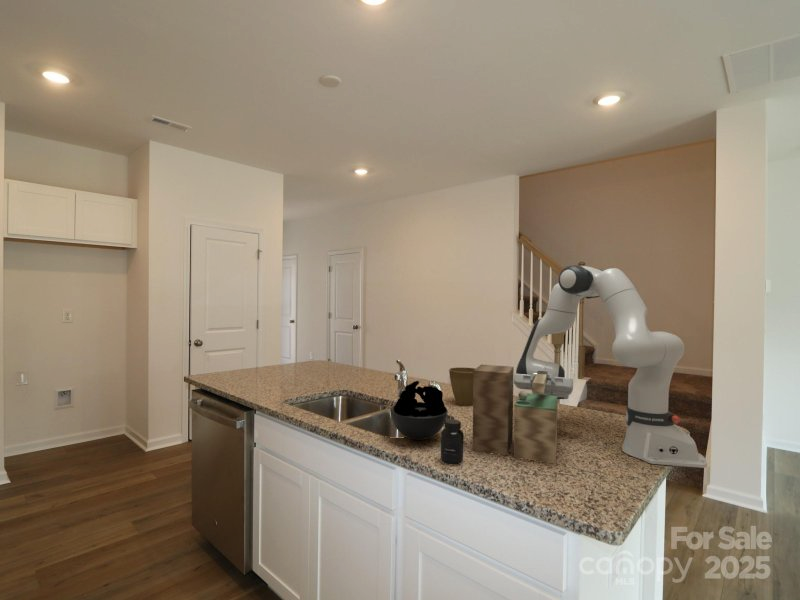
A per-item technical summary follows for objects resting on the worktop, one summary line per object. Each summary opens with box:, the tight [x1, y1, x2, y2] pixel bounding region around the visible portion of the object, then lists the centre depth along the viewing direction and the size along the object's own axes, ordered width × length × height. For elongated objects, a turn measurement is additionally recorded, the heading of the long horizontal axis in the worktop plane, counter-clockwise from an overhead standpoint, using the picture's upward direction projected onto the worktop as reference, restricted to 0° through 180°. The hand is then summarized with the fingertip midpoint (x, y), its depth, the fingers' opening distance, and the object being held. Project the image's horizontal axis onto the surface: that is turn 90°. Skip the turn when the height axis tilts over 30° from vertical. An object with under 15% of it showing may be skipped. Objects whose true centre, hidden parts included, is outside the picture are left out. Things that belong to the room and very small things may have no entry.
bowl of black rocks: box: [389, 380, 448, 441], centre depth 145 cm, size 20×20×19 cm
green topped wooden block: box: [513, 390, 558, 465], centre depth 134 cm, size 12×18×19 cm, turn 158°
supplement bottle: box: [440, 418, 465, 465], centre depth 125 cm, size 7×7×12 cm
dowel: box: [533, 371, 547, 394], centre depth 136 cm, size 3×22×3 cm, turn 158°
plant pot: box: [448, 366, 476, 407], centre depth 193 cm, size 15×15×16 cm
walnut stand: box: [471, 364, 514, 456], centre depth 137 cm, size 11×13×26 cm
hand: (542, 375), depth 144 cm, fingers closed on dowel, 3 cm apart
